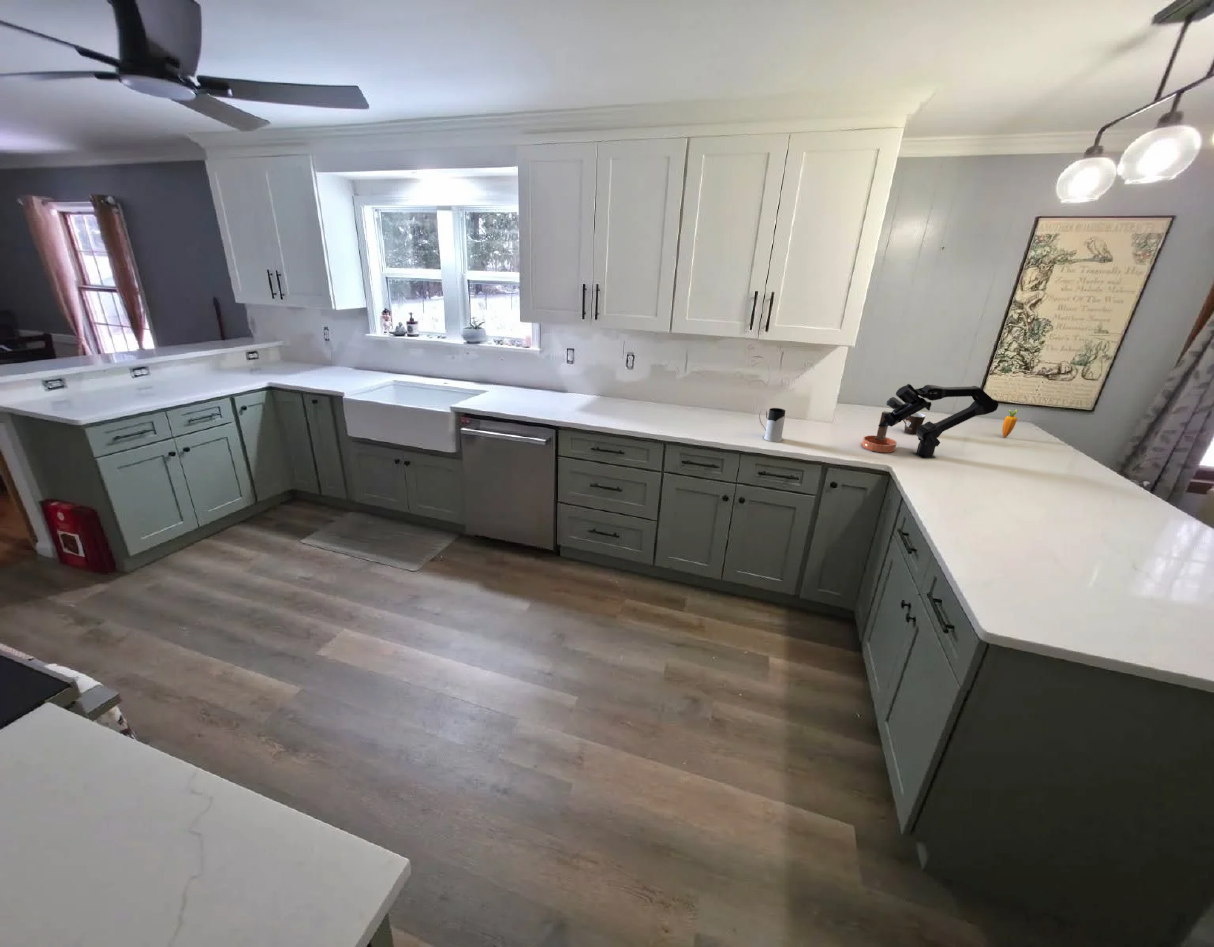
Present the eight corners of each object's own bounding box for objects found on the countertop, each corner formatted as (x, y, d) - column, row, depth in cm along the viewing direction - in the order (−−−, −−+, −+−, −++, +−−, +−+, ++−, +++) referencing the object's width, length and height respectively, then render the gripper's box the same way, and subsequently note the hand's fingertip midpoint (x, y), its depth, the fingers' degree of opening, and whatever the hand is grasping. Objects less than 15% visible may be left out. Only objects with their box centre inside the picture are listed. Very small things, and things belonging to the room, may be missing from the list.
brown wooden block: (886, 439, 236) (892, 412, 230) (882, 441, 233) (889, 414, 228) (877, 437, 238) (883, 410, 233) (874, 439, 236) (880, 412, 231)
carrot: (999, 438, 253) (1009, 409, 247) (997, 435, 257) (1007, 407, 251) (1011, 439, 251) (1021, 411, 245) (1009, 437, 255) (1019, 408, 249)
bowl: (901, 452, 232) (903, 444, 231) (873, 454, 230) (875, 446, 229) (881, 442, 245) (883, 434, 243) (855, 443, 243) (857, 436, 241)
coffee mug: (923, 436, 254) (928, 417, 251) (904, 435, 256) (909, 416, 252) (915, 429, 265) (919, 411, 261) (897, 428, 267) (902, 410, 263)
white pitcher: (775, 443, 242) (780, 413, 236) (751, 435, 252) (755, 407, 246) (785, 439, 247) (790, 410, 241) (761, 432, 257) (765, 404, 251)
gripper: (908, 389, 230) (878, 407, 242) (892, 396, 218) (862, 415, 230) (922, 409, 227) (891, 427, 239) (907, 417, 216) (876, 435, 228)
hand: (880, 425), depth 234 cm, fingers closed on brown wooden block, 3 cm apart
